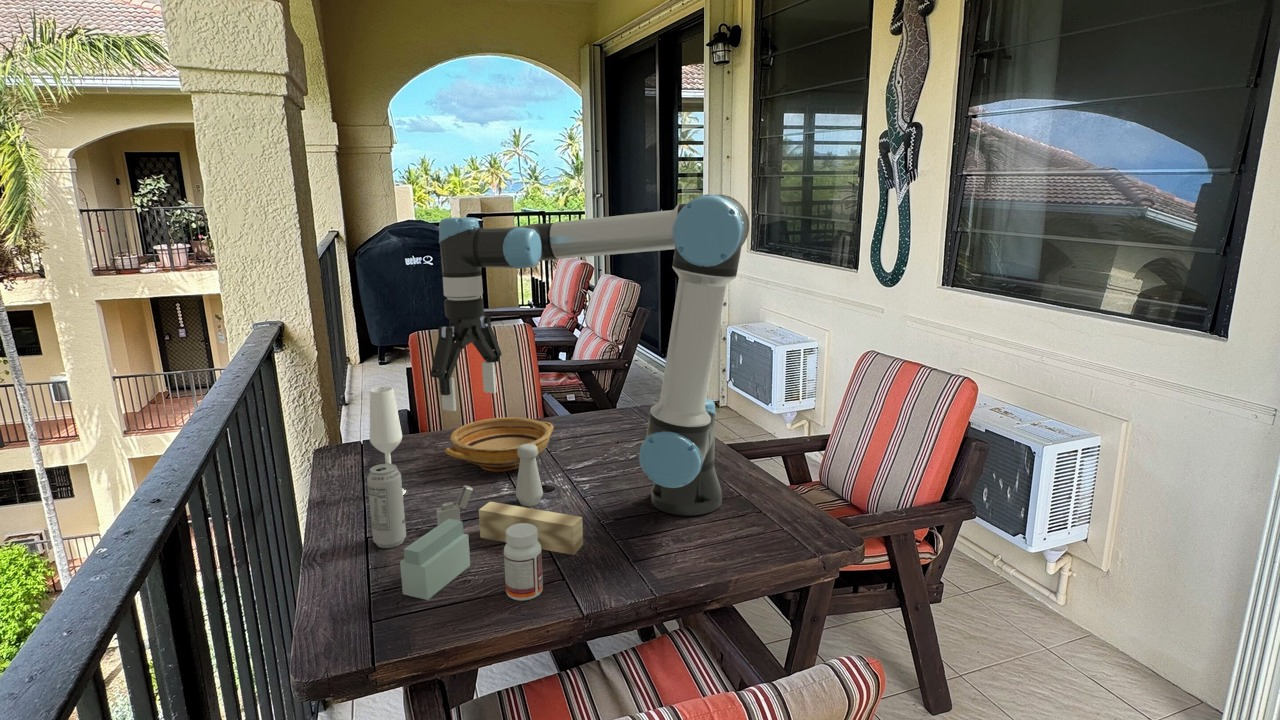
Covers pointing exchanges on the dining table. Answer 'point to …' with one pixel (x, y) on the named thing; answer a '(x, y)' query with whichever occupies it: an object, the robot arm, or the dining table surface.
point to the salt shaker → (528, 476)
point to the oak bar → (552, 527)
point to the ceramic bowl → (498, 441)
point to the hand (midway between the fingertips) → (470, 400)
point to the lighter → (454, 506)
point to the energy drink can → (386, 505)
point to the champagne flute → (384, 421)
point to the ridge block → (435, 560)
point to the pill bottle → (523, 562)
